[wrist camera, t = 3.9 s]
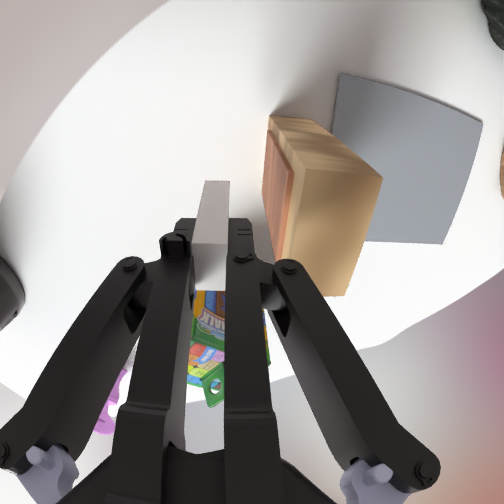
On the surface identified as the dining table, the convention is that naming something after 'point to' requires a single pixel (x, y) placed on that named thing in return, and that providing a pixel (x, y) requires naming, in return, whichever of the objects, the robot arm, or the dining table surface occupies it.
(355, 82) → the mat
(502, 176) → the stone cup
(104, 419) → the toy chair
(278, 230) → the oak slab
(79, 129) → the dining table surface
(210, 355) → the chalk box
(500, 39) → the squash
